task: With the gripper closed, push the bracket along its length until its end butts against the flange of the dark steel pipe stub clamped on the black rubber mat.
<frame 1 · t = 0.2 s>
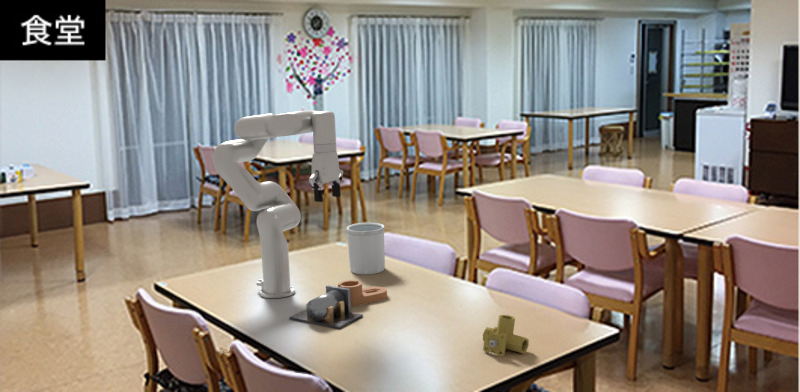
hand: (327, 199, 268), 36 cm above the table, tool pointing down, fingers open, 9 cm apart
ball valve: (501, 352, 227), on the table
utensil holder: (367, 270, 314), on the table
pipe stub: (326, 317, 260), on the table
bracket: (363, 300, 277), on the table
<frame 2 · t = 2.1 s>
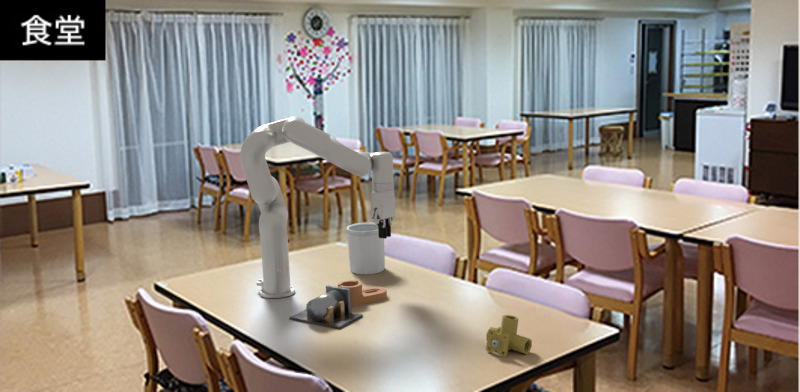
hand: (384, 236, 286), 19 cm above the table, tool pointing down, fingers closed
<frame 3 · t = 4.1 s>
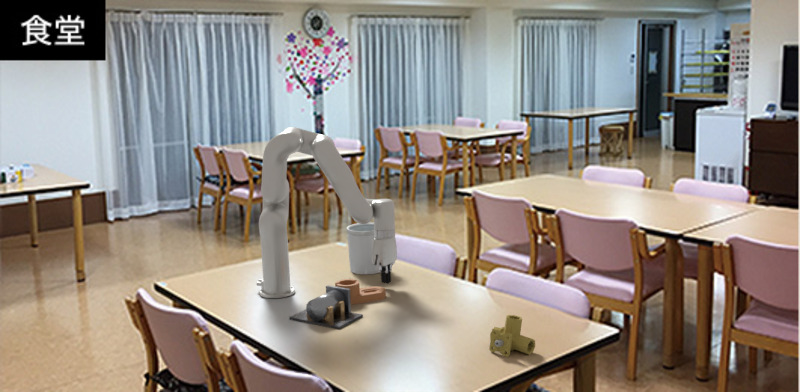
hand: (386, 282, 289), 2 cm above the table, tool pointing down, fingers closed
bracket: (361, 300, 278), on the table
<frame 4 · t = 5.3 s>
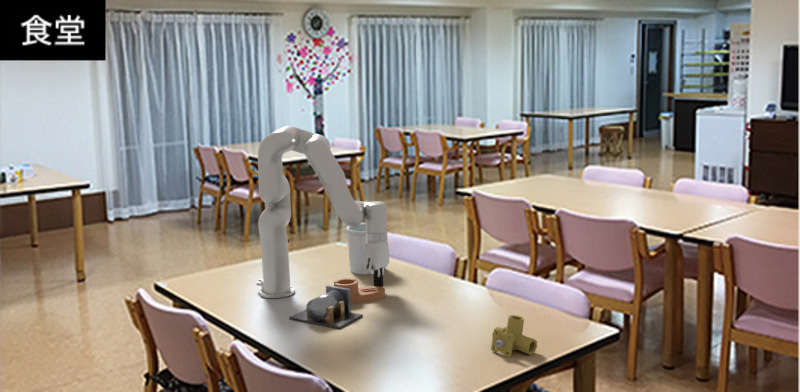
hand: (378, 286, 285), 2 cm above the table, tool pointing down, fingers closed
bracket: (360, 299, 279), on the table, touching gripper
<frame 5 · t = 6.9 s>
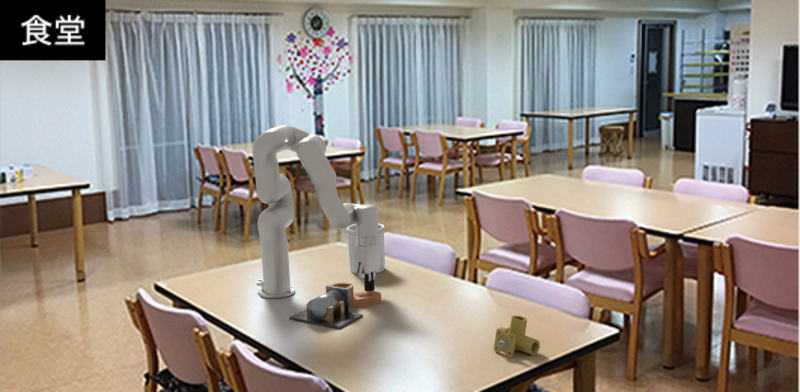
hand: (369, 290, 280), 2 cm above the table, tool pointing down, fingers closed
bracket: (355, 304, 274), on the table
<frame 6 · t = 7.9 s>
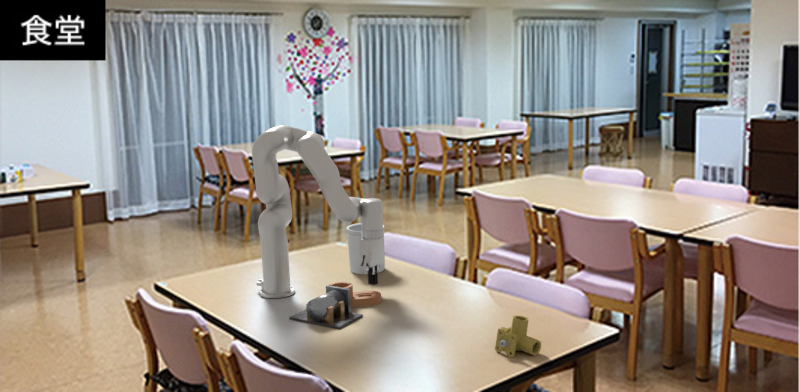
hand: (373, 283, 283), 4 cm above the table, tool pointing down, fingers closed
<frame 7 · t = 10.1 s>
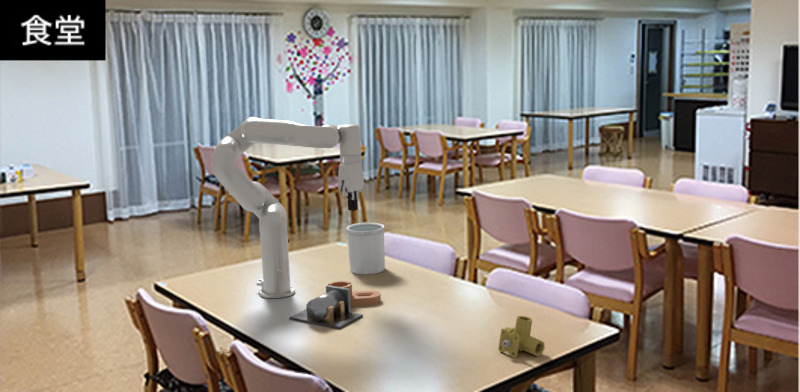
hand: (352, 210, 285), 29 cm above the table, tool pointing down, fingers closed
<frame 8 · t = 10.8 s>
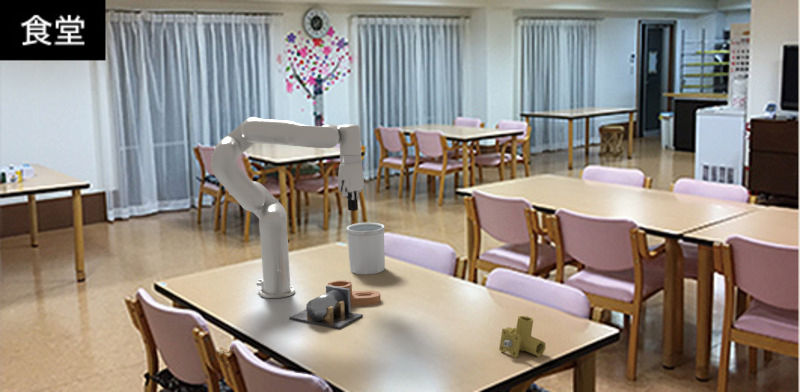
hand: (352, 210, 285), 29 cm above the table, tool pointing down, fingers closed
at the end: bracket inside the target area (2.3 cm from its centre), on the table; bracket tilted 0° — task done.
